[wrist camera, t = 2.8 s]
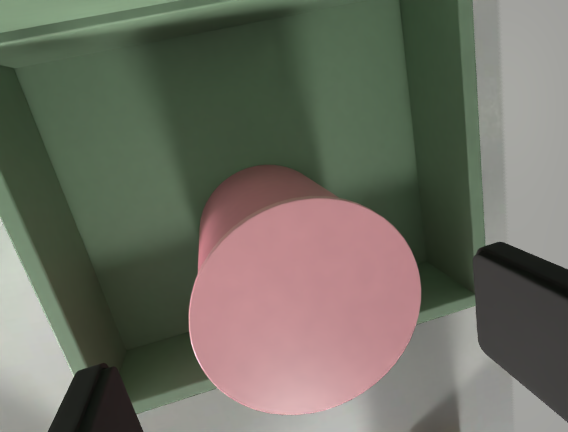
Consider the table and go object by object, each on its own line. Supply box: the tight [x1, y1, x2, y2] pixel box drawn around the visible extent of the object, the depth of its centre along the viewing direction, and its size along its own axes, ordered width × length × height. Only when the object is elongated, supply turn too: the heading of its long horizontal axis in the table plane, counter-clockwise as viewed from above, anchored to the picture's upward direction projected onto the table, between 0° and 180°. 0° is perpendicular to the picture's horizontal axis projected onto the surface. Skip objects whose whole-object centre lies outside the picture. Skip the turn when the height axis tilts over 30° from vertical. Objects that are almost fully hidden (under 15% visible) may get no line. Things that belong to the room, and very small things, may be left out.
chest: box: [0, 0, 485, 414], centre depth 16 cm, size 14×17×5 cm
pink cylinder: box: [189, 165, 421, 415], centre depth 15 cm, size 7×7×8 cm
